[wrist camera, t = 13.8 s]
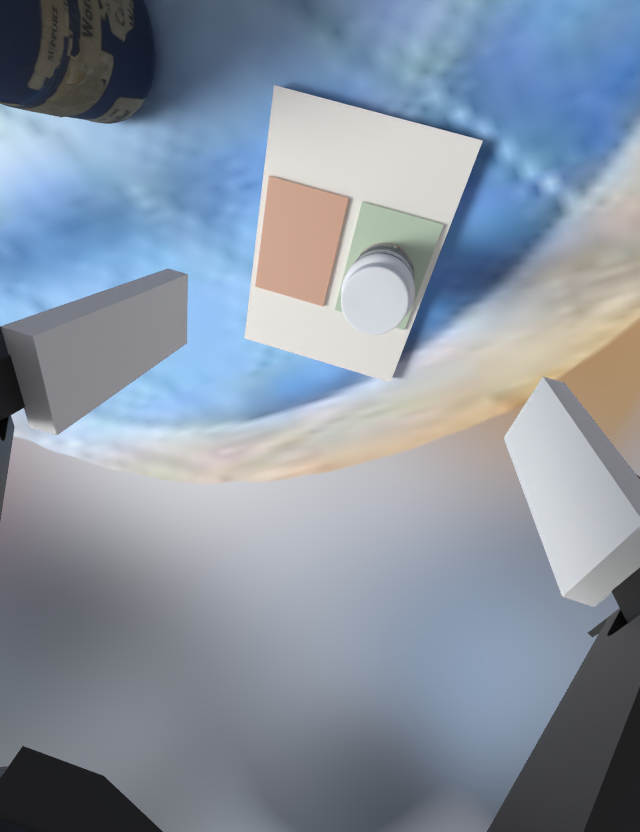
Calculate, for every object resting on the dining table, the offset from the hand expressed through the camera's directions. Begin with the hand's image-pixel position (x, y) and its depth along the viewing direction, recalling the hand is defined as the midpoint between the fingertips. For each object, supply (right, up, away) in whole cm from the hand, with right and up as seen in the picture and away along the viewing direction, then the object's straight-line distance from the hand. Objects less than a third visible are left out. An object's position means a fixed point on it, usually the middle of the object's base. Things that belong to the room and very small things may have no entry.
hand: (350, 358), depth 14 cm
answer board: (+1, +11, +16) cm, 19 cm away
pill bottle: (+4, +9, +15) cm, 18 cm away
